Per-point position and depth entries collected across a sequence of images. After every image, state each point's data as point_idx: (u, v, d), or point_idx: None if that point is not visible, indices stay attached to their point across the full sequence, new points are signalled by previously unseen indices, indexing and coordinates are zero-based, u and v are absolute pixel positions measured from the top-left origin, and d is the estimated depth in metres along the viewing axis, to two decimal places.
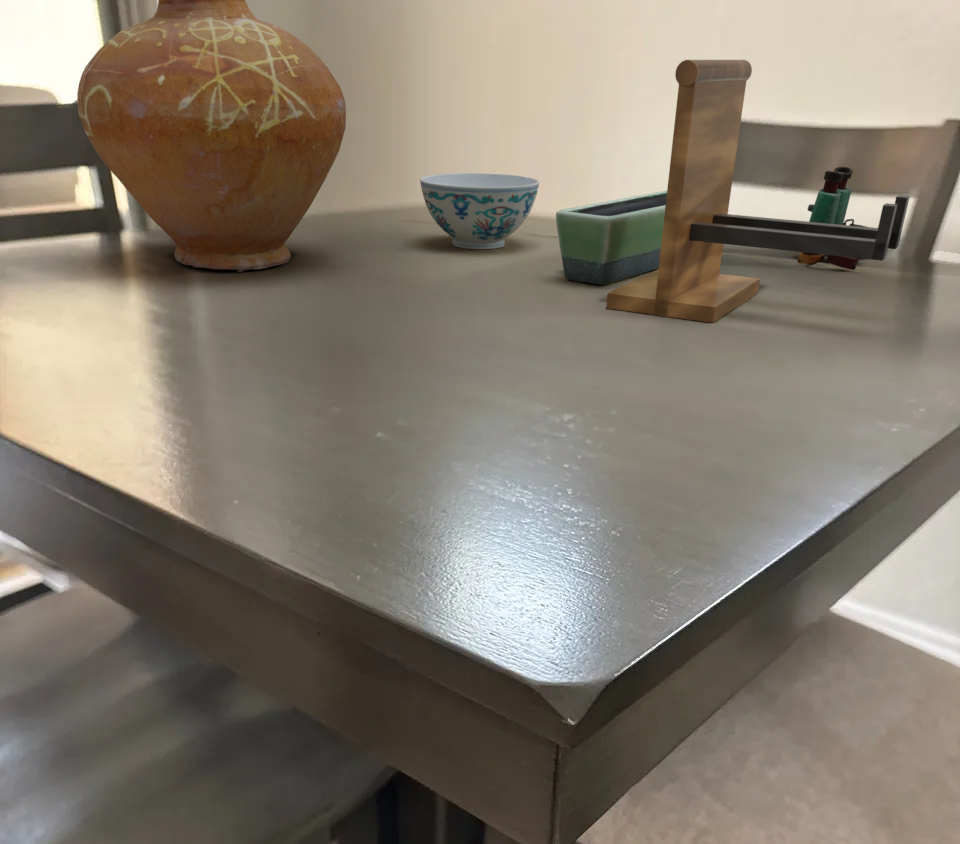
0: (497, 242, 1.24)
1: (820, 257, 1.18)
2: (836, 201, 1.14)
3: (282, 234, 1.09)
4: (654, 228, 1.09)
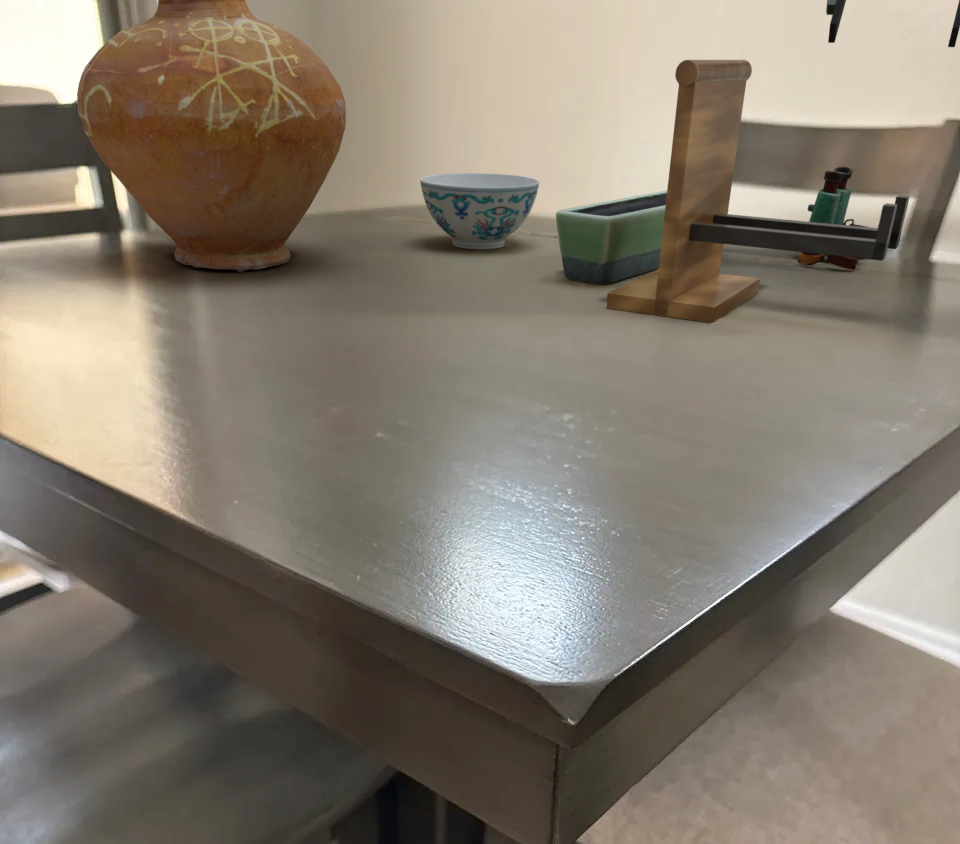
0: (497, 242, 1.24)
1: (820, 257, 1.18)
2: (836, 201, 1.14)
3: (282, 234, 1.09)
4: (654, 228, 1.09)
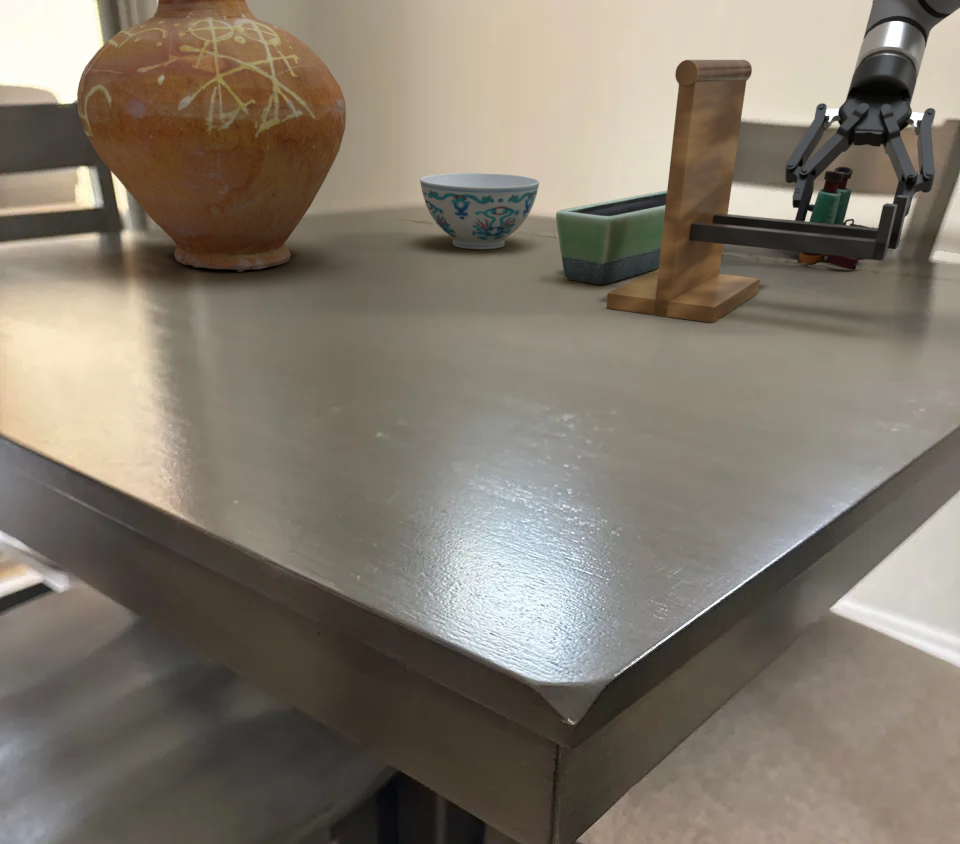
0: (497, 242, 1.24)
1: (820, 257, 1.18)
2: (836, 201, 1.14)
3: (282, 234, 1.09)
4: (654, 228, 1.09)
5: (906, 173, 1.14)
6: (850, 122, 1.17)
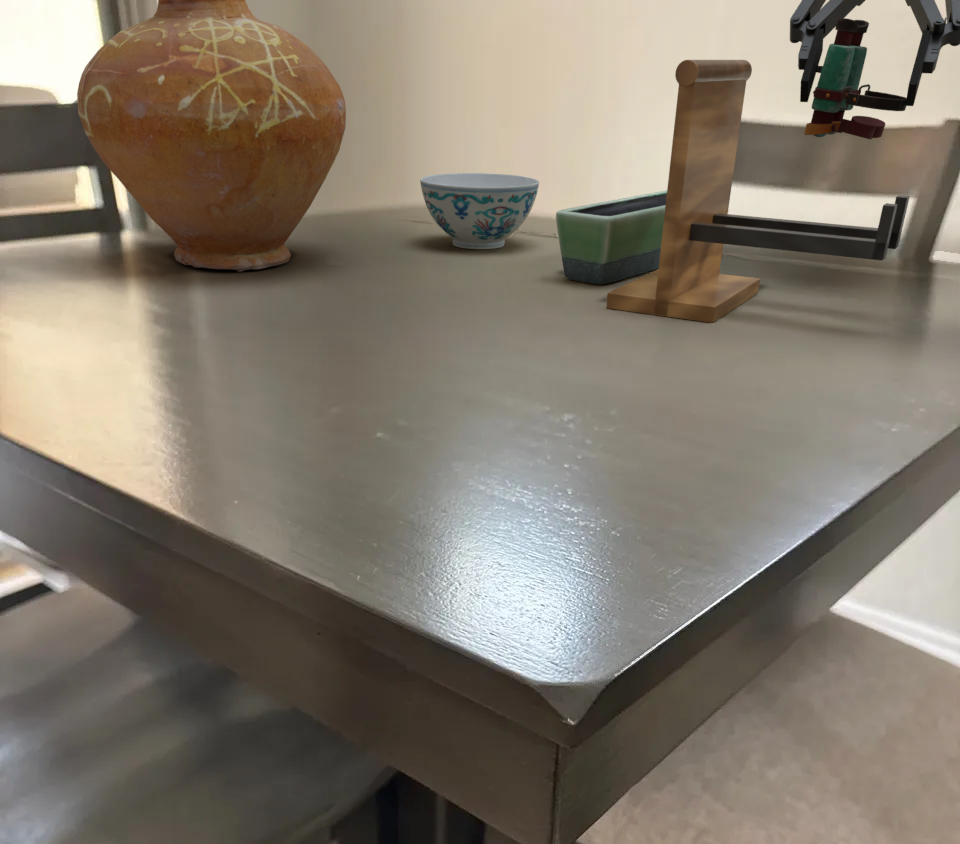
0: (497, 242, 1.24)
1: (831, 126, 1.01)
2: (850, 55, 0.97)
3: (282, 234, 1.09)
4: (654, 228, 1.09)
5: (932, 21, 0.96)
6: None
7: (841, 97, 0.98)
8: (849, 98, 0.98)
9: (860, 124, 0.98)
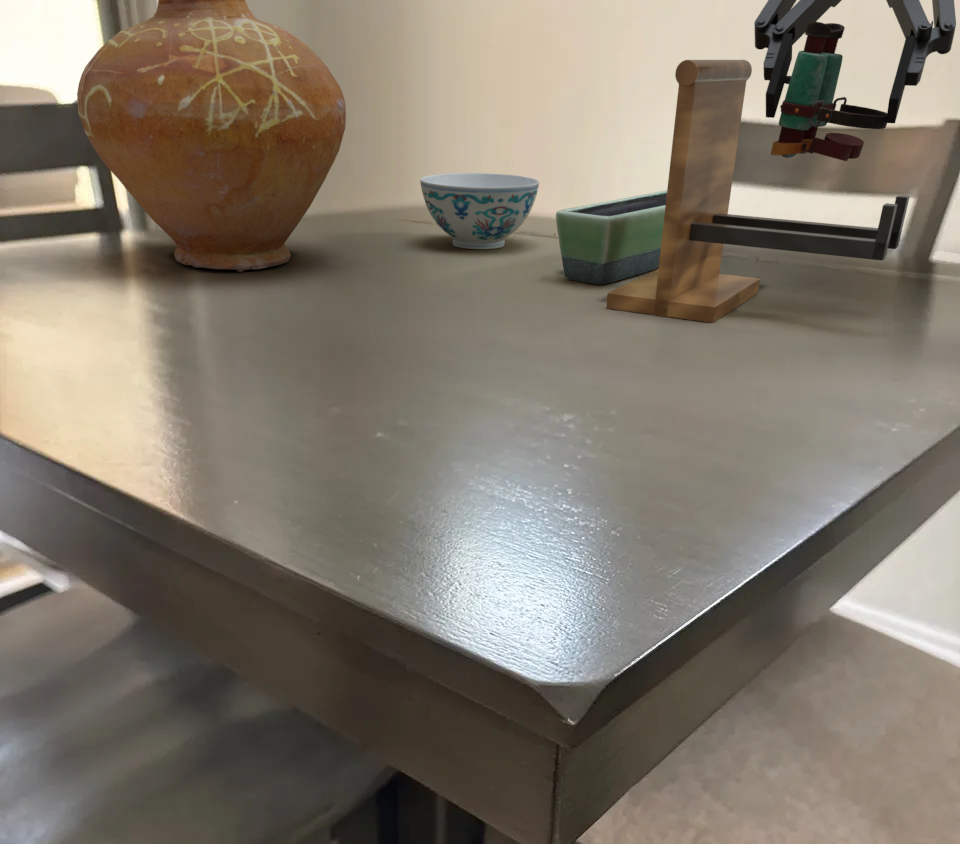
0: (497, 242, 1.24)
1: (801, 145, 0.88)
2: (822, 64, 0.83)
3: (282, 234, 1.09)
4: (654, 228, 1.09)
5: (917, 25, 0.83)
6: None
7: (812, 113, 0.85)
8: (821, 114, 0.85)
9: (834, 144, 0.85)
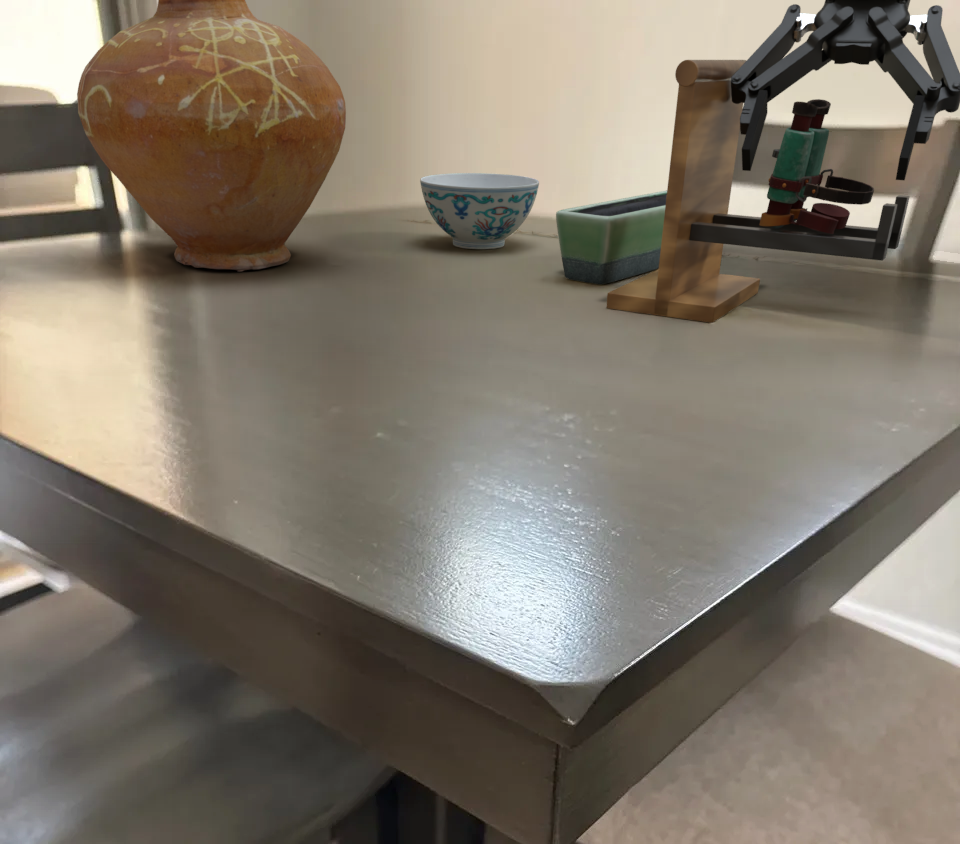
0: (497, 242, 1.24)
1: (788, 217, 0.90)
2: (808, 142, 0.86)
3: (282, 234, 1.09)
4: (654, 228, 1.09)
5: (924, 87, 0.85)
6: (825, 30, 0.89)
7: (799, 188, 0.88)
8: (808, 189, 0.87)
9: (820, 218, 0.88)
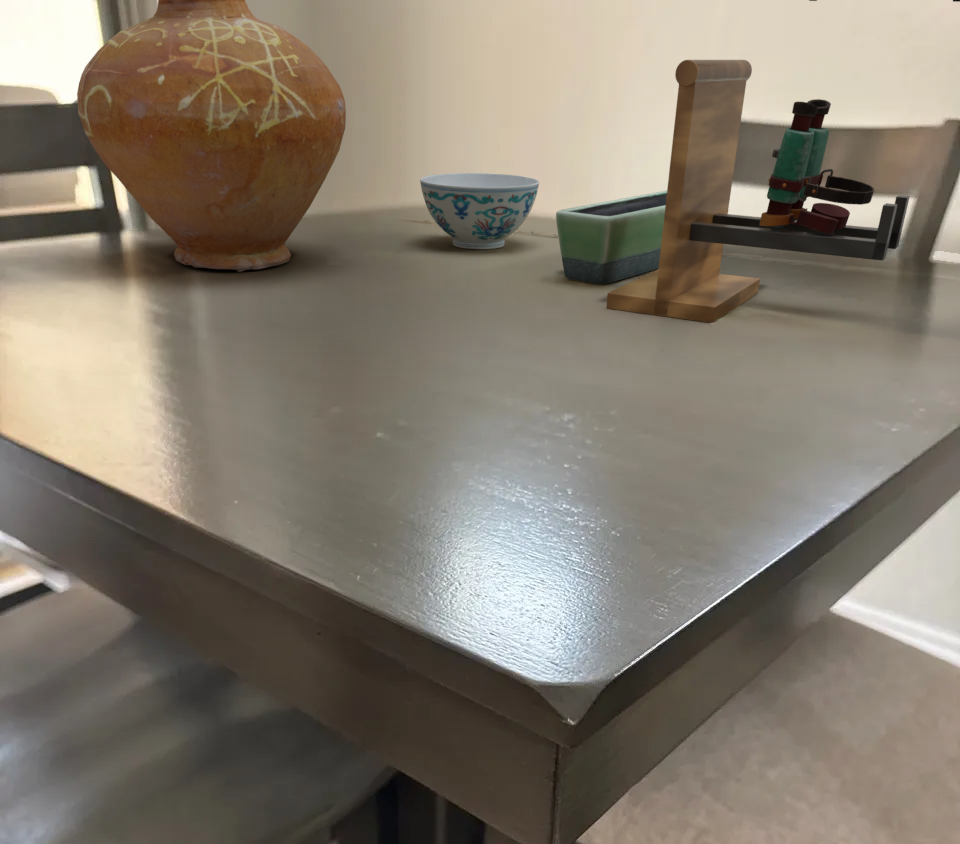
0: (497, 242, 1.24)
1: (788, 217, 0.90)
2: (808, 142, 0.86)
3: (282, 234, 1.09)
4: (654, 228, 1.09)
5: None
6: None
7: (799, 188, 0.88)
8: (808, 189, 0.87)
9: (820, 218, 0.88)
